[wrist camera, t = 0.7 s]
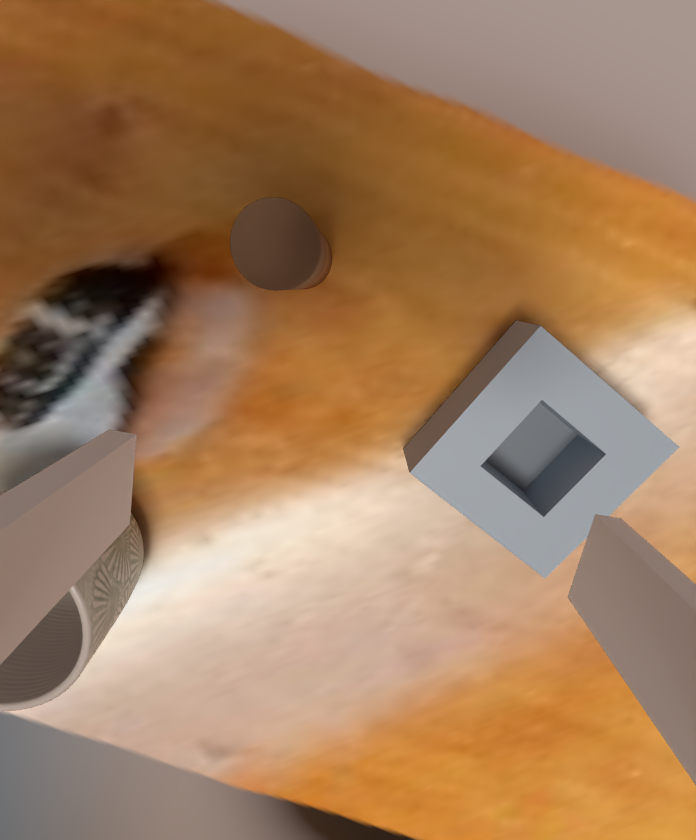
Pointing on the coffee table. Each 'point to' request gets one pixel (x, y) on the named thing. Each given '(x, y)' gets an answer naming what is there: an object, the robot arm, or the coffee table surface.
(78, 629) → the planter
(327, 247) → the dowel
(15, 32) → the coffee table surface
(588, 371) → the socket
